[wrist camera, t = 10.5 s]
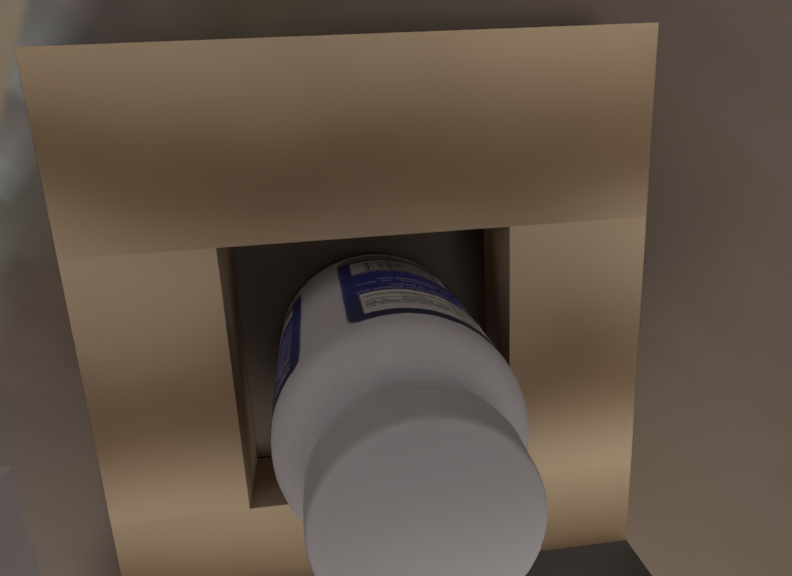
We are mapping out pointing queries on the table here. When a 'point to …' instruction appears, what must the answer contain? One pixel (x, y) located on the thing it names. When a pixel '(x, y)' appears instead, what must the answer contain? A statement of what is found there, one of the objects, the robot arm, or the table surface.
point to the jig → (340, 219)
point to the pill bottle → (401, 430)
